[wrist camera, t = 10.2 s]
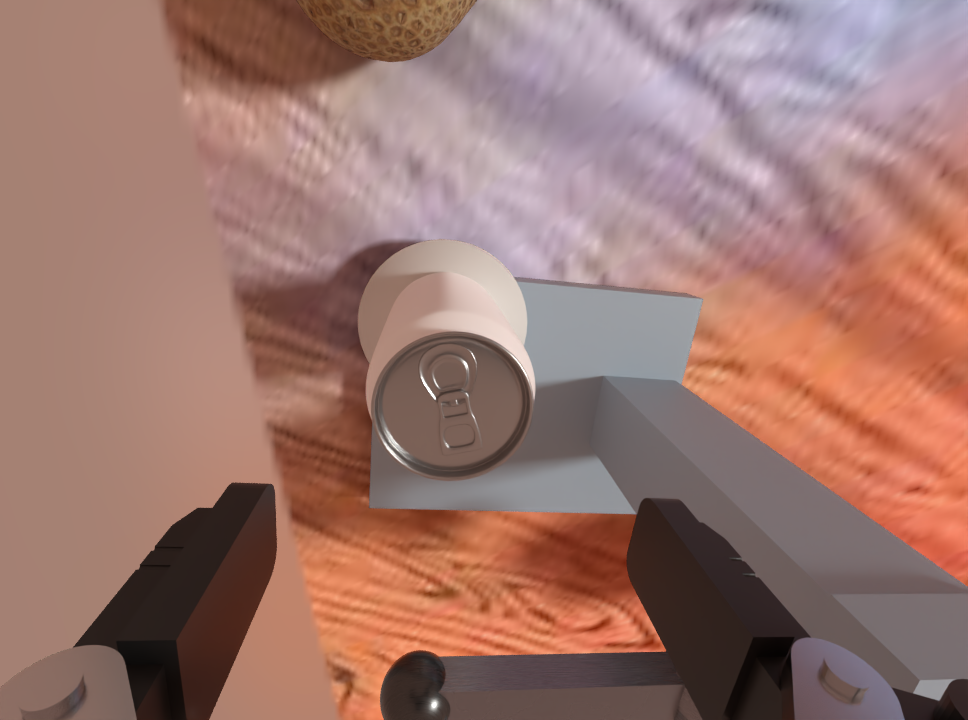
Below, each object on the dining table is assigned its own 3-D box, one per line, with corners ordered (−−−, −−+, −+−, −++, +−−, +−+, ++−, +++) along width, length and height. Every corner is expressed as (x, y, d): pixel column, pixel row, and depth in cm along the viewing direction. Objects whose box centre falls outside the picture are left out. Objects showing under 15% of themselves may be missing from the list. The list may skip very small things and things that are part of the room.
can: (491, 262, 26) (536, 303, 15) (505, 367, 28) (554, 473, 17) (378, 280, 26) (336, 336, 14) (401, 385, 28) (380, 506, 17)
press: (365, 228, 27) (131, 304, 6) (693, 263, 30) (1327, 396, 9) (358, 490, 32) (223, 1017, 11) (636, 498, 35) (941, 929, 14)
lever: (388, 599, 19) (375, 715, 14) (852, 597, 22) (956, 692, 17) (383, 680, 20) (370, 808, 16) (821, 667, 23) (909, 772, 19)
